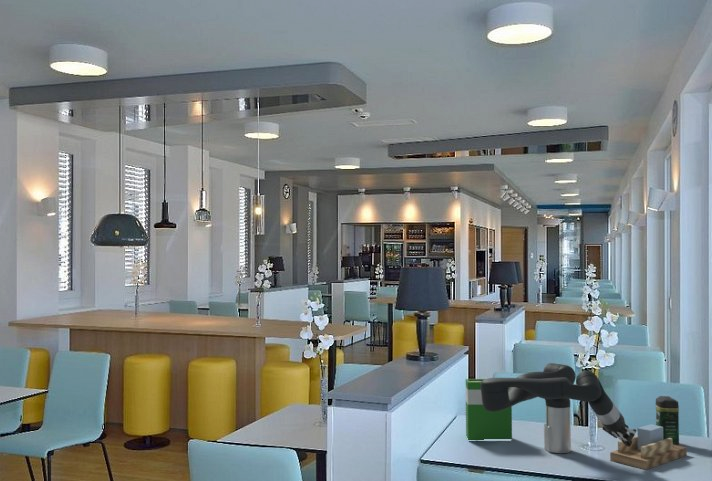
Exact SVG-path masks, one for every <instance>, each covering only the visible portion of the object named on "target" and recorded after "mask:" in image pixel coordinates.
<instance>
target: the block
mask: <svg viewBox="0 0 712 481" xmlns="http://www.w3.org/2000/svg"><path fill="white" fill-rule="evenodd" d="M636 433H637V436H638V450H641V447H642V446H645V445H648V444H651V443H655V442H658V441H661V440H663V427H661V426H657V425H656V424H651V423H650V424H647V425H643V426H640V427H637V429H636Z"/></svg>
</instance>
